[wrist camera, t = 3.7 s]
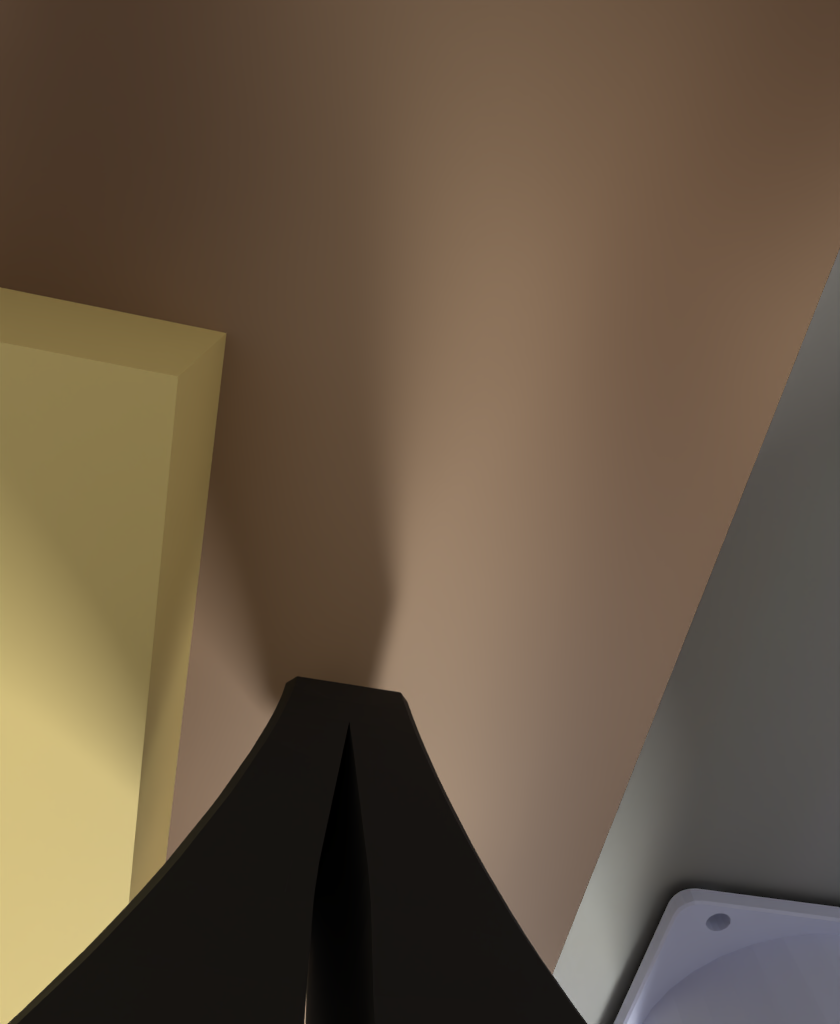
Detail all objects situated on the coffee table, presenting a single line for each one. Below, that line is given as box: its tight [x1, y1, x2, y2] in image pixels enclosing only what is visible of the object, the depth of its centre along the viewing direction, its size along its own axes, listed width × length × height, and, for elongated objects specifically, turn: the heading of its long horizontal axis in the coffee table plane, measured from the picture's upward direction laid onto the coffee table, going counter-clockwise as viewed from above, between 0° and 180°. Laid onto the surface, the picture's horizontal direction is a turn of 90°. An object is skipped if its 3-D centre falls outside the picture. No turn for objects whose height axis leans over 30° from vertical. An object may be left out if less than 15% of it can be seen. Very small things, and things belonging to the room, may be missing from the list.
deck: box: [0, 0, 840, 1024], centre depth 12 cm, size 14×20×4 cm
